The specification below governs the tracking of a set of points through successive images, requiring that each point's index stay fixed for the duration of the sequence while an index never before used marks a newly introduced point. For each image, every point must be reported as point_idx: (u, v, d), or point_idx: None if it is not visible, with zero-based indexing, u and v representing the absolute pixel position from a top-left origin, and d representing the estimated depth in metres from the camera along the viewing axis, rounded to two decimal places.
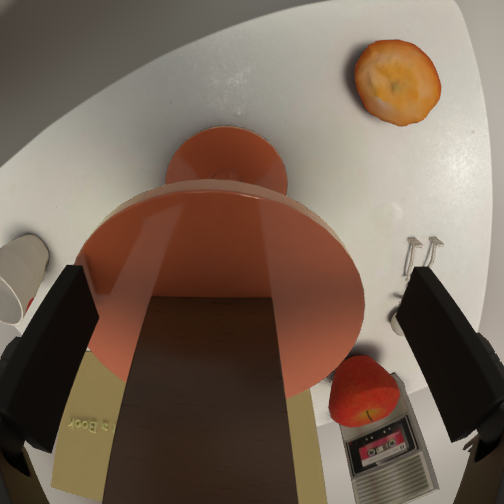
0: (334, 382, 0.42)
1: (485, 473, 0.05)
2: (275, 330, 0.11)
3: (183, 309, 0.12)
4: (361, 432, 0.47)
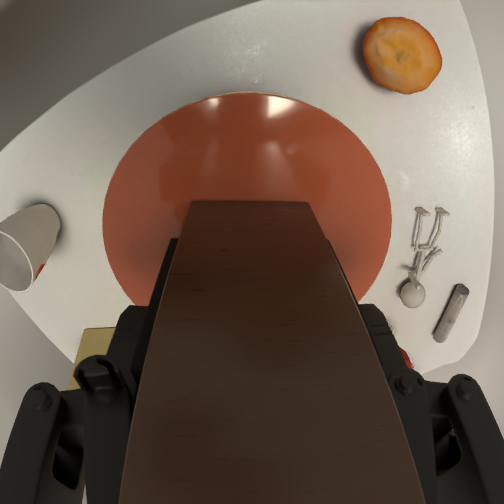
0: None
1: None
2: (317, 221, 0.11)
3: (225, 207, 0.12)
4: None
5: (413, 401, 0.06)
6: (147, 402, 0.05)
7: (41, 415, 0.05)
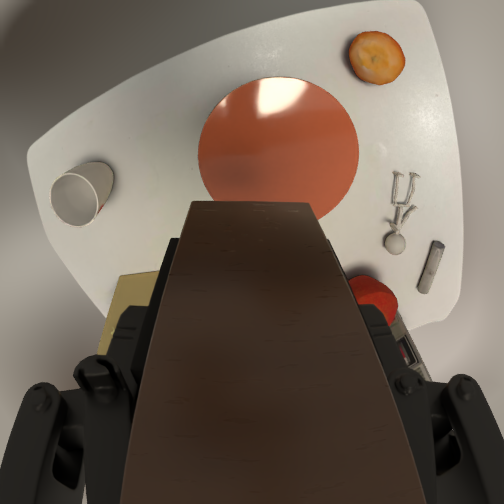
0: None
1: None
2: (317, 221, 0.12)
3: (226, 208, 0.12)
4: None
5: (413, 401, 0.06)
6: (148, 402, 0.05)
7: (41, 415, 0.05)
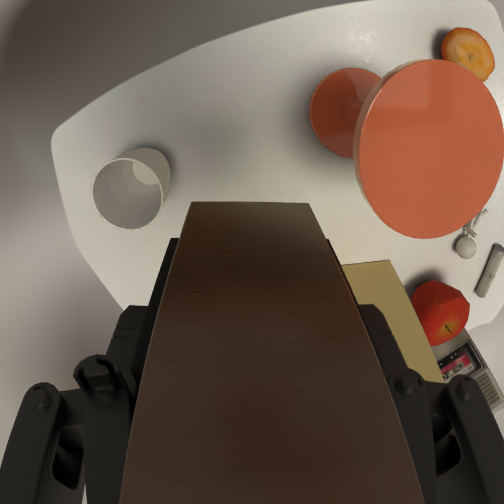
0: (416, 302, 0.47)
1: None
2: (317, 222, 0.12)
3: (225, 208, 0.12)
4: None
5: (413, 401, 0.06)
6: (147, 403, 0.05)
7: (41, 415, 0.05)
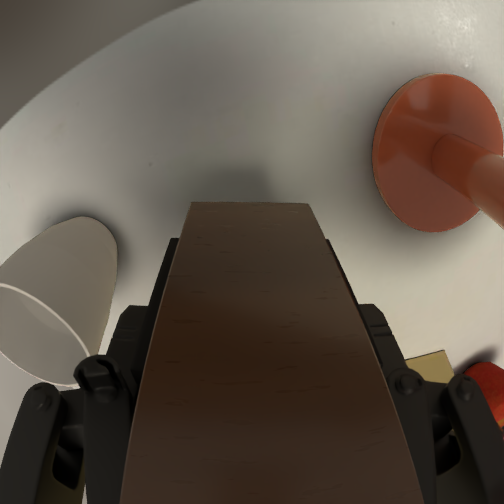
0: None
1: None
2: (317, 223, 0.12)
3: (225, 209, 0.12)
4: None
5: (413, 401, 0.06)
6: (147, 404, 0.05)
7: (41, 415, 0.05)
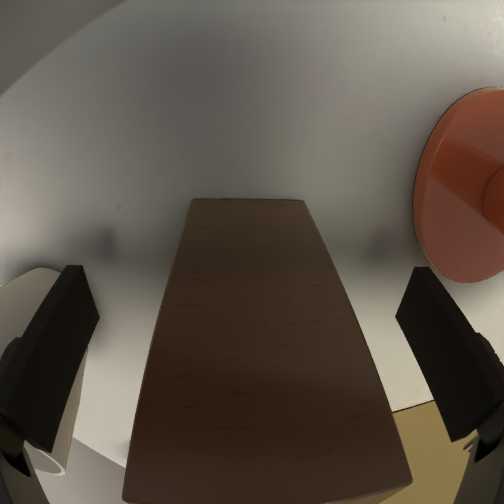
0: None
1: (485, 473, 0.05)
2: (311, 218, 0.12)
3: (225, 205, 0.13)
4: None
5: None
6: (153, 377, 0.06)
7: None
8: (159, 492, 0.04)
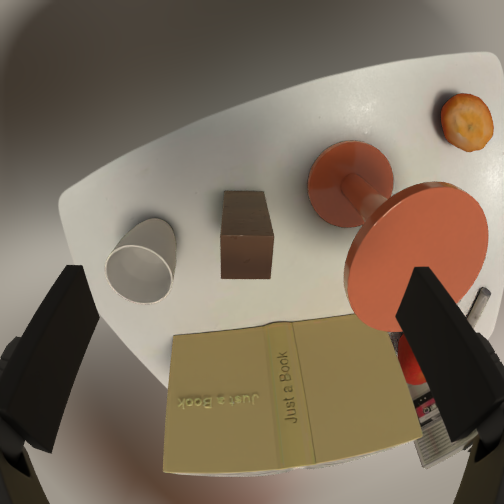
0: (402, 347, 0.50)
1: (485, 473, 0.05)
2: (264, 196, 0.38)
3: (236, 192, 0.38)
4: (415, 395, 0.55)
5: None
6: (224, 222, 0.31)
7: None
8: (227, 233, 0.29)
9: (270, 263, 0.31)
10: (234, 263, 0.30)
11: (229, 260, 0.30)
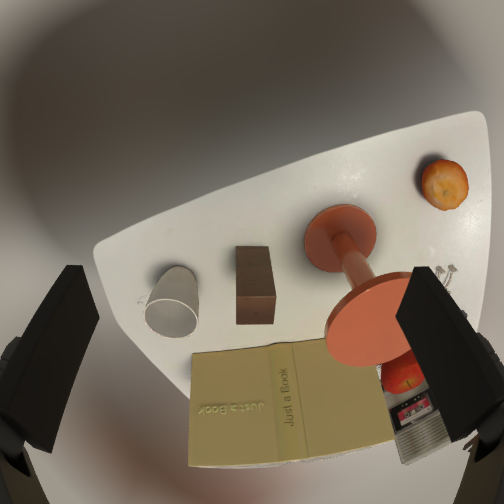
0: None
1: (485, 473, 0.05)
2: (268, 252, 0.47)
3: (246, 249, 0.48)
4: (398, 401, 0.64)
5: None
6: (238, 283, 0.41)
7: None
8: (241, 295, 0.39)
9: (273, 314, 0.40)
10: (246, 314, 0.40)
11: (242, 312, 0.40)
